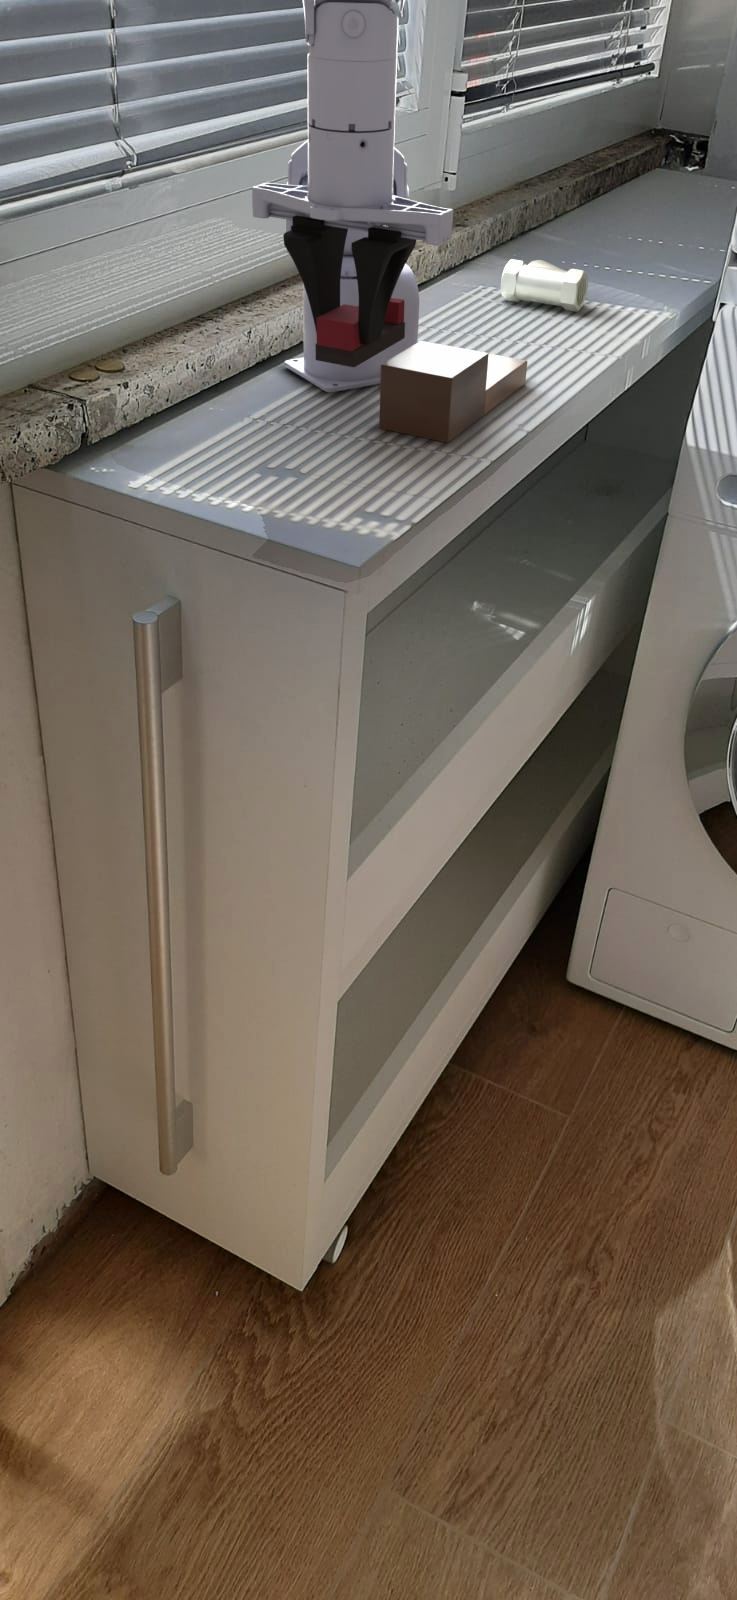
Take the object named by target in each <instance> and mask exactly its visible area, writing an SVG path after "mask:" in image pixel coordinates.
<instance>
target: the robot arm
mask: <svg viewBox="0 0 737 1600" xmlns="http://www.w3.org/2000/svg"><path fill="white" fill-rule="evenodd" d="M392 1H393V0H302V7H303V13H304V14H303V15H304V25H305V26H304V29H305V30H304V33H305V44H307V46H308V53H307V140H306V141H304V142H303V143H302V144H300V145H299V146H298V147H297V148H296V149H295V150H294V151H293V152H292V153H291V156H290V160H289V161H288V162H287V182H286V184H283V183H275V182H274V183H273V182H264V183H261V184H258V185H255V186H252V188H251V201H252V203H251V204H252V205H251V206H252V217H253V218H258V219H269V218H275V219H283V220H285V232H284V233H283V245H284V247H285V249H286V253H287V254H288V255H289V256H290V258H291V259H292V261H293V263H294V265H295V267H296V269H297V272H298V274H299V276H300V279H301V282H302V325H303V327H302V328H303V329H302V330H303V331H302V332H303V335H302V336H303V337H302V338H303V357H298V358H293V359H286V360H285V361H284V367H285V368H287V369H288V370H290V371H292V372H293V373H294V374H296V375H298V376H299V377H301V378H303V379H304V380H306V381H308V382H309V383H311V384H313V385H314V386H316V387H317V388H320V389H321V390H323V391H324V392H326V393H336V392H341V391H347V390H353V389H359V388H364V387H369V386H370V387H371V386H374V385H380V381H381V364H383V363H384V362H386V361H388V360H389V359H391V358H393V357H394V356H396V355H398V354H399V353H401V352H403V351H404V350H406V349H408V348H409V347H411V346H413V345H414V344H416V343H418V342H419V340H418V339H419V324H420V323H419V322H420V321H419V320H420V292H419V287H418V282H417V279H416V276H415V274H414V272H413V270H412V269H411V268H410V266H409V265H408V264H407V262H408V260H409V258H410V256H411V255H412V253H413V251H414V249H415V247H416V245H417V241H422V242H425V244H426V245H430V246H437V247H439V246H441V245H444V244H447V243H449V242H450V241H452V237H453V220H454V209H452V208H447V207H440V206H436V205H431V204H427V203H424V202H421V201H417V200H413V199H410V190H409V185H408V163H406V162H405V157H404V155H403V154H402V153H401V152H400V150H398V149H397V148H396V147H395V136H396V135H395V132H396V131H395V130H396V126H395V125H396V105H397V103H396V102H397V77H398V75H397V73H398V47H399V44H398V42H399V41H398V40H399V16H398V15H397V13H396V12H395V11H394V10H393V9H392ZM394 2H395V3H396V4H397V5H398V11H399V13H400V14H402V13H403V9H404V6H405V3H406V0H394ZM391 298H396V299H402V300H405V305H404V322H405V338H404V339H402V340H401V341H399V342H397V343H395V344H394V345H392V346H390V347H389V348H387V349H385V350H383V351H382V352H380V353H378V354H377V355H375V356H373V357H371V358H370V359H368V360H366V361H365V362H363V363H361V364H359V365H358V366H356V367H348V366H343V365H338V364H333V363H328V362H323V361H317V360H316V347H315V344H316V343H317V317H319V316H321V315H323V314H325V313H327V312H329V311H331V310H333V309H335V308H337V307H339V306H341V305H343V304H345V305H351V306H357V307H359V312H358V327H359V338H360V344H364V345H370V344H372V343H373V342H375V341H377V340H379V339H381V334H382V329H383V325H384V320H385V317H386V313H387V309H388V306H389V303H390V299H391Z"/></svg>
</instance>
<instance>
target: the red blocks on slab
mask: <svg viewBox="0 0 737 1600" xmlns="http://www.w3.org/2000/svg"><path fill="white" fill-rule="evenodd" d="M404 305H405V300H402V299H396V298H391V299H390V303H389V306H388V309H387V313H386V317H385V320H384V325H383V329H382V334H381V339H379V340H377V341H375V342H373V343H372V344H370V345H364V344H360V338H359V327H358V312H359V307H357V306H351V305H345V304H343V305H341V306H339V307H337V308H335V309H333V310H331V311H329V312H327V313H325V314H323V315H321V316H319V317H317V343H316V344H315V347H316V360H317V361H323V362H328V363H333V364H338V365H343V366H348V367H356V366H358V365H359V364H361V363H363V362H365V361H366V360H368V359H370V358H371V357H373V356H375V355H377V354H378V353H380V352H382V351H383V350H385V349H387V348H389V347H390V346H392V345H394V344H395V343H397V342H399V341H401V340H402V339H404V338H405V322H404Z"/></svg>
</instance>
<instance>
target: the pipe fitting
mask: <svg viewBox="0 0 737 1600" xmlns="http://www.w3.org/2000/svg"><path fill="white" fill-rule="evenodd" d="M503 268H504V269H503V271H502V275H501V278H500V279H501V280H500V293H501V297H503V298H504V299H505V300H506V301H510V302H517V303H519V302H520V301H521V300H522V301H527V302H533V303H539V304H546V305H552V306H558V307H562V308H563V310H565V311H569V312H577V313H578V312H579V311H580V310H581V309H582V307H583V305H584V304H585V300H586V297H587V294H588V288H589V278H588V274H587V273H586V271H585V270H583V269H577V268H570V269H569V270H564V269H562V268H561V267H558V266H556V265H554V264H552V263H550V262H548V261H545V260H543V259H535V260H532V261H530V262H529V263H528V264H527V263H526V262H525V261H524V260H518V259H512V258H511V259H510V260H509V261H508V262H507V263H506V264H505V266H504V267H503Z"/></svg>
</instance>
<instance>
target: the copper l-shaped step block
mask: <svg viewBox="0 0 737 1600" xmlns="http://www.w3.org/2000/svg"><path fill="white" fill-rule="evenodd" d="M527 370H528V360H525V359H520V358H515V357H511V356H503V355H498V354H492V353H489V352H485V351H478V350H474V349H469V348H468V349H467V348H463V347H457V346H451V345H446V344H441V343H436V342H429V341H423V340H418V343H416V344H414V345H413V346H411V347H409V348H408V349H406V350H404V351H403V352H401V353H399V354H398V355H396V356H394V357H393V358H391V359H389V360H388V361H386V362H384V363H383V364H381V381H380V384H379V386H380V387H379V390H380V391H379V413H378V417H379V418H378V428H379V429H381V430H387V431H391V432H395V433H401V434H405V435H410V436H414V437H419V438H424V439H428V440H432V441H439V442H442V443H446V444H447V443H450V442H451V441H452V440H454V439H455V438H456V437H457V436H459V435H460V434H461V433H463V432H464V431H465V430H466V429H468V428H469V427H471V426H472V425H473V424H475V423H476V422H477V421H478V420H480V419H481V418H482V417H484V415H487V413H489V412H491V410H492V409H494V408H495V407H497V406H498V405H499V404H501V403H502V402H503V401H504V400H506V399H507V398H508V397H510V396H511V395H512V394H513V393H515V392H516V391H517V390H519V389H520V388H522V387H523V386H524V385H525V384H526V380H527Z"/></svg>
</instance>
